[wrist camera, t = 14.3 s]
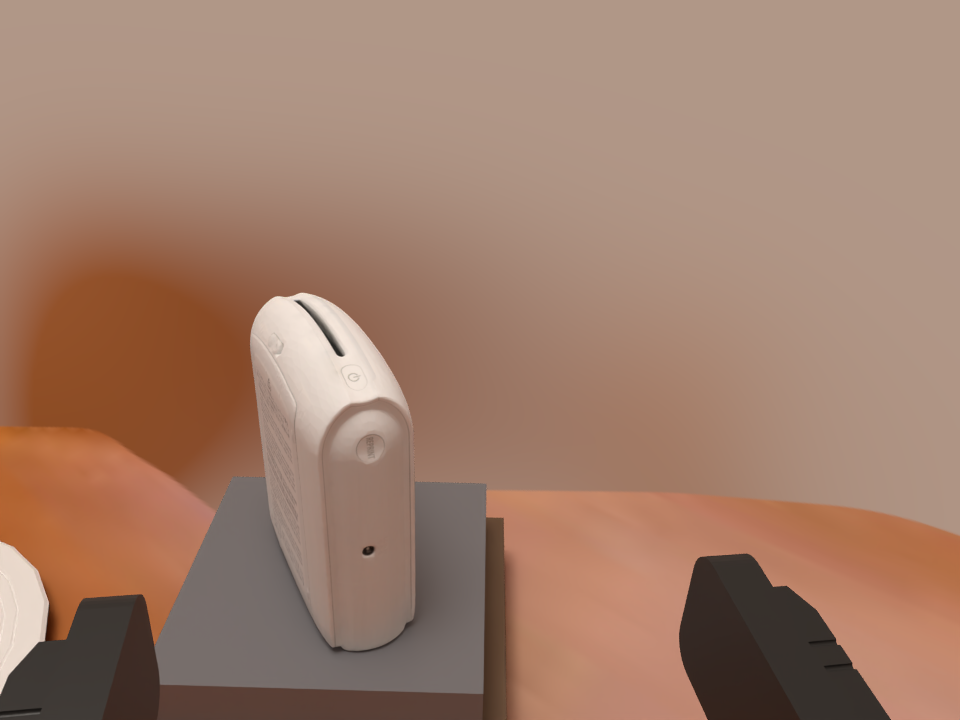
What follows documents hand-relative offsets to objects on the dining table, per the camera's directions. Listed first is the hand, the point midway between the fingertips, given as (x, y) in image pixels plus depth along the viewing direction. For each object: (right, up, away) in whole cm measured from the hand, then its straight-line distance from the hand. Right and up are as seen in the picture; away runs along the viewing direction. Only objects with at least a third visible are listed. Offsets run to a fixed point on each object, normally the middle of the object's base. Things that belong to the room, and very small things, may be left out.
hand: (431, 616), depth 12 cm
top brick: (-6, -8, +26) cm, 28 cm away
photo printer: (-6, -6, +25) cm, 26 cm away
